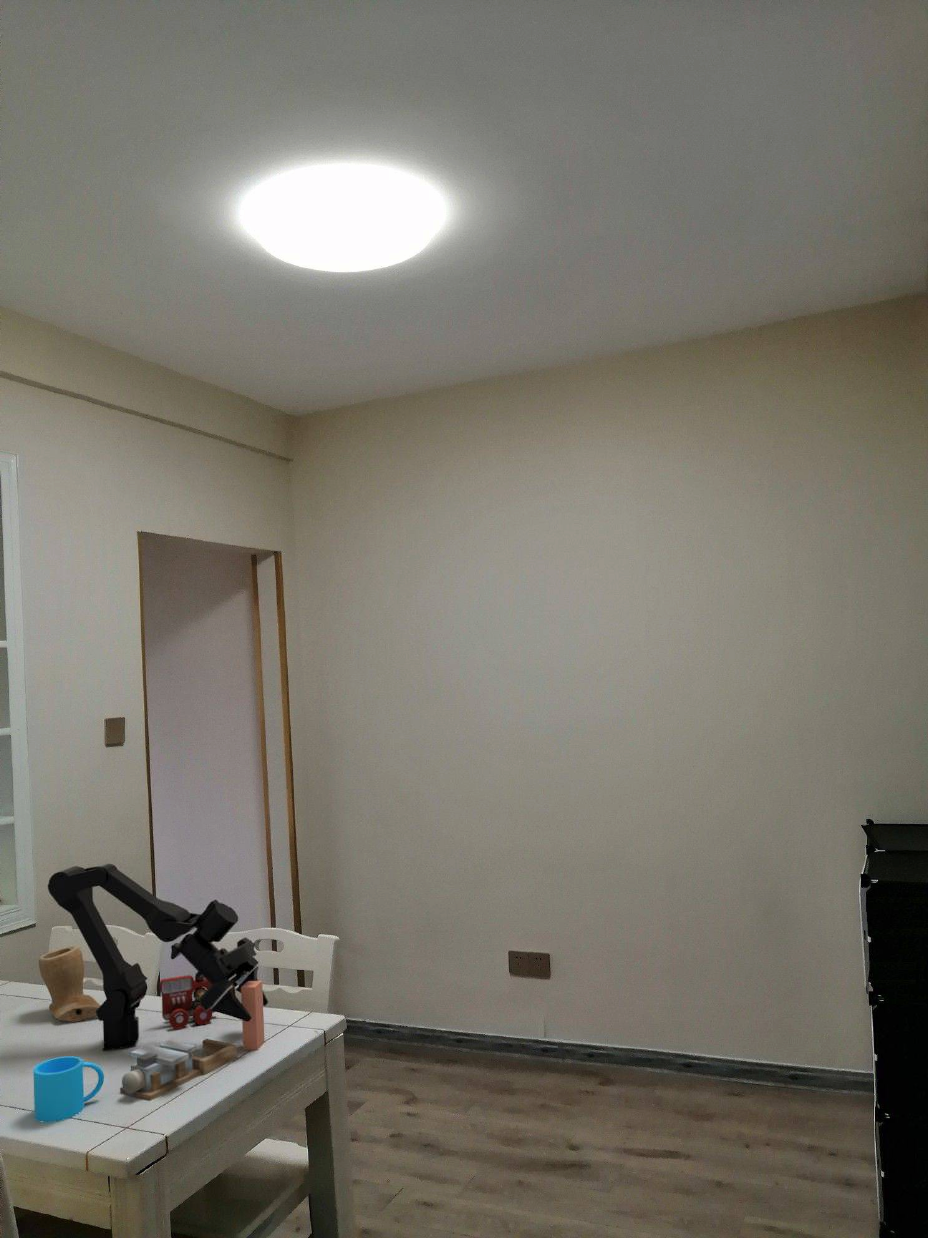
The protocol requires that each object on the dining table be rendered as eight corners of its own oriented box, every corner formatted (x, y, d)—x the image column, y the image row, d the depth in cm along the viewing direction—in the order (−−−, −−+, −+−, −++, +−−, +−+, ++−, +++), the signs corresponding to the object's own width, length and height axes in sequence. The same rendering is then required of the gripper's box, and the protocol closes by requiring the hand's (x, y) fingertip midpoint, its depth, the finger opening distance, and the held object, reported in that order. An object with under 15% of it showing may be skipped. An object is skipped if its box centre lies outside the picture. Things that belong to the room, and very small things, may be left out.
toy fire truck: (221, 1022, 219) (219, 974, 220) (163, 1033, 214) (161, 984, 215) (215, 1012, 226) (214, 966, 226) (159, 1023, 221) (157, 975, 221)
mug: (41, 1127, 171) (39, 1079, 172) (29, 1111, 178) (28, 1065, 178) (111, 1106, 179) (110, 1059, 179) (97, 1092, 185) (96, 1047, 185)
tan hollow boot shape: (36, 1012, 232) (34, 947, 233) (90, 1001, 238) (88, 937, 239) (47, 1031, 219) (45, 962, 220) (103, 1018, 225) (101, 951, 226)
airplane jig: (199, 1050, 203) (198, 1019, 204) (240, 1058, 198) (238, 1026, 198) (108, 1094, 184) (107, 1060, 184) (150, 1105, 178) (149, 1069, 178)
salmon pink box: (243, 1049, 202) (240, 987, 203) (250, 1042, 206) (248, 981, 207) (257, 1050, 202) (254, 987, 202) (264, 1042, 206) (262, 981, 206)
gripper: (211, 942, 197) (267, 999, 194) (247, 918, 215) (298, 969, 213) (175, 983, 197) (230, 1040, 195) (214, 955, 216) (265, 1007, 213)
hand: (258, 1012), depth 204 cm, fingers open, 9 cm apart
